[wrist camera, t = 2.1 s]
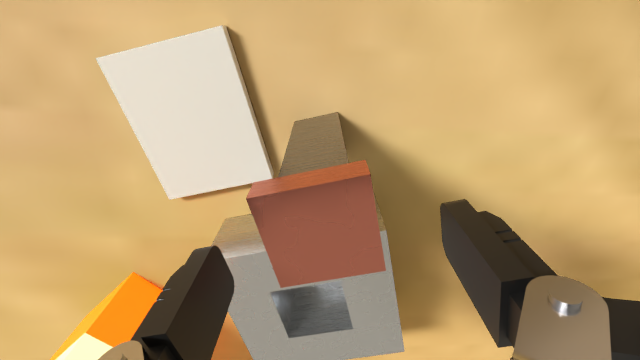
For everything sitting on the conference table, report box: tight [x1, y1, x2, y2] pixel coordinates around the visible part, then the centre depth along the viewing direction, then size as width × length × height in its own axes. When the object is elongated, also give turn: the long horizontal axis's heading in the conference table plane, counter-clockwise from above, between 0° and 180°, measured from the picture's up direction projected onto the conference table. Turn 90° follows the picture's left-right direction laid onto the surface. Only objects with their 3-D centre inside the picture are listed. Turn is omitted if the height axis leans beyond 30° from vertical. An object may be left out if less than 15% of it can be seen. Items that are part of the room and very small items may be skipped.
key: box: [246, 112, 386, 288], centre depth 16 cm, size 4×4×11 cm
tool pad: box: [96, 25, 274, 200], centre depth 20 cm, size 10×8×1 cm
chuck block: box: [211, 191, 404, 360], centre depth 23 cm, size 12×12×5 cm
